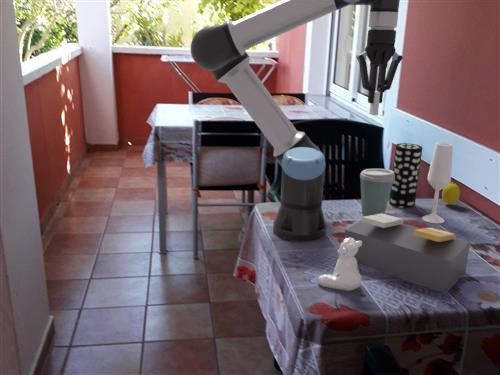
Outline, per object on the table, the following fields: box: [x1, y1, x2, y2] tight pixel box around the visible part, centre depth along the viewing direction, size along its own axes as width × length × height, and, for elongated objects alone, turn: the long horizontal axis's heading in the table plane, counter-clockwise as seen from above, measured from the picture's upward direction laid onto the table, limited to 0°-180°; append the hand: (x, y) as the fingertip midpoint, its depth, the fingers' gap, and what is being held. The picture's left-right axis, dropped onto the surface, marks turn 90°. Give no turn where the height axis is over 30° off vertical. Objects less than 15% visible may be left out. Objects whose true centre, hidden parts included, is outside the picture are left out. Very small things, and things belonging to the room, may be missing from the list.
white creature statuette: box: [317, 237, 363, 292], centre depth 112 cm, size 10×9×12 cm
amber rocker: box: [413, 227, 456, 242], centre depth 117 cm, size 12×6×1 cm, turn 140°
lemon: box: [441, 181, 461, 206], centre depth 166 cm, size 6×6×8 cm
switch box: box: [344, 220, 471, 295], centre depth 122 cm, size 14×26×8 cm, turn 50°
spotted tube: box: [388, 142, 423, 209], centre depth 164 cm, size 8×8×20 cm
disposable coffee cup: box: [359, 168, 395, 217], centre depth 153 cm, size 11×11×15 cm
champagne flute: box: [421, 141, 454, 224], centre depth 150 cm, size 7×7×24 cm
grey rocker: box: [360, 213, 405, 228], centre depth 124 cm, size 12×6×1 cm, turn 140°
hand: (373, 114), depth 143 cm, fingers closed
